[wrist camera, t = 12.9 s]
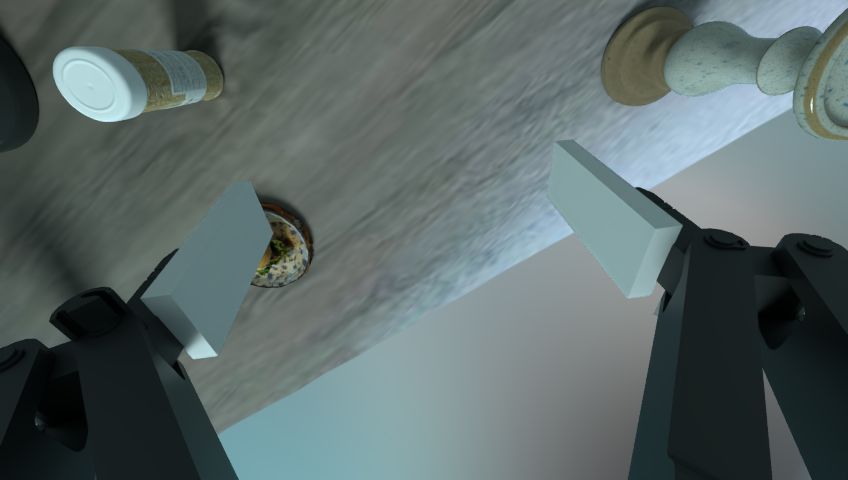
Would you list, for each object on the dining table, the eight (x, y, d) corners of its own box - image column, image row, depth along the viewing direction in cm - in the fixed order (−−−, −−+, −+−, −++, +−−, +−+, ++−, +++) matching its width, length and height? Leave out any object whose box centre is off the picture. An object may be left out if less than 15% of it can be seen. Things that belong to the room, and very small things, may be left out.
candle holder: (582, 70, 34) (764, 88, 17) (653, -16, 31) (974, -108, 13) (634, 121, 37) (839, 183, 19) (705, 47, 34) (1030, 40, 16)
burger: (214, 265, 45) (180, 301, 38) (223, 187, 39) (186, 213, 33) (304, 290, 47) (287, 328, 41) (324, 219, 42) (308, 250, 35)
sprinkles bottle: (188, 101, 35) (74, 125, 23) (169, 50, 32) (31, 48, 21) (232, 98, 34) (141, 120, 23) (216, 47, 32) (105, 43, 21)
